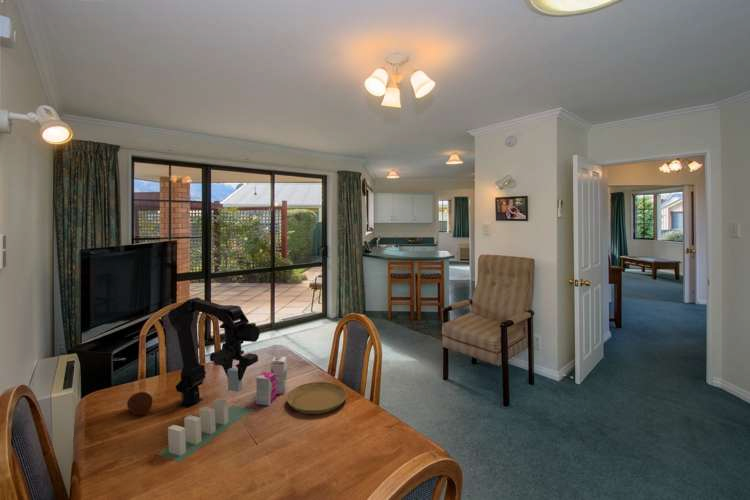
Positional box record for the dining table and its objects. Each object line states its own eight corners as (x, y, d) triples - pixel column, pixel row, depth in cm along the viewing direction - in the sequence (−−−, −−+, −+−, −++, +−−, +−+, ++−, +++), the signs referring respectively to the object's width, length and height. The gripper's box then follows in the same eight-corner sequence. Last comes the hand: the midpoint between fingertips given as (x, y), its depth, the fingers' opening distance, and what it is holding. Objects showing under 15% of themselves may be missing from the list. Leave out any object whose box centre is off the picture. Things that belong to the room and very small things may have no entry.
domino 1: (168, 452, 110) (167, 427, 109) (174, 448, 112) (173, 424, 111) (180, 455, 108) (179, 431, 107) (186, 452, 110) (185, 427, 109)
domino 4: (213, 422, 127) (212, 401, 126) (217, 419, 128) (217, 398, 128) (224, 424, 125) (223, 403, 124) (228, 422, 127) (227, 400, 126)
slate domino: (228, 390, 134) (227, 369, 133) (232, 387, 136) (231, 367, 135) (238, 391, 132) (237, 371, 131) (242, 389, 134) (241, 369, 133)
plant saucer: (335, 384, 158) (335, 377, 158) (355, 409, 136) (355, 401, 136) (281, 395, 148) (281, 388, 148) (294, 424, 126) (294, 415, 126)
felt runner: (157, 455, 109) (157, 454, 109) (232, 405, 139) (232, 405, 139) (180, 462, 105) (180, 461, 105) (252, 410, 135) (252, 409, 135)
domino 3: (200, 431, 121) (199, 409, 120) (204, 428, 123) (203, 406, 122) (211, 434, 119) (210, 411, 119) (215, 431, 121) (214, 409, 120)
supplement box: (269, 406, 138) (268, 378, 137) (256, 405, 139) (255, 377, 138) (276, 399, 144) (275, 372, 143) (263, 398, 145) (262, 371, 144)
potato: (142, 404, 140) (141, 384, 140) (160, 410, 135) (159, 391, 135) (121, 413, 134) (120, 393, 133) (139, 420, 128) (138, 399, 128)
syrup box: (273, 388, 154) (273, 356, 153) (287, 387, 154) (286, 356, 153) (271, 394, 148) (270, 361, 147) (285, 394, 148) (284, 361, 147)
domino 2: (185, 441, 115) (184, 418, 115) (190, 437, 117) (189, 415, 117) (196, 444, 114) (195, 421, 113) (201, 441, 115) (200, 417, 115)
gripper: (197, 343, 128) (199, 384, 129) (237, 349, 122) (239, 392, 123) (220, 334, 139) (222, 373, 140) (258, 339, 132) (259, 379, 133)
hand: (234, 379), depth 133 cm, fingers closed on slate domino, 5 cm apart
